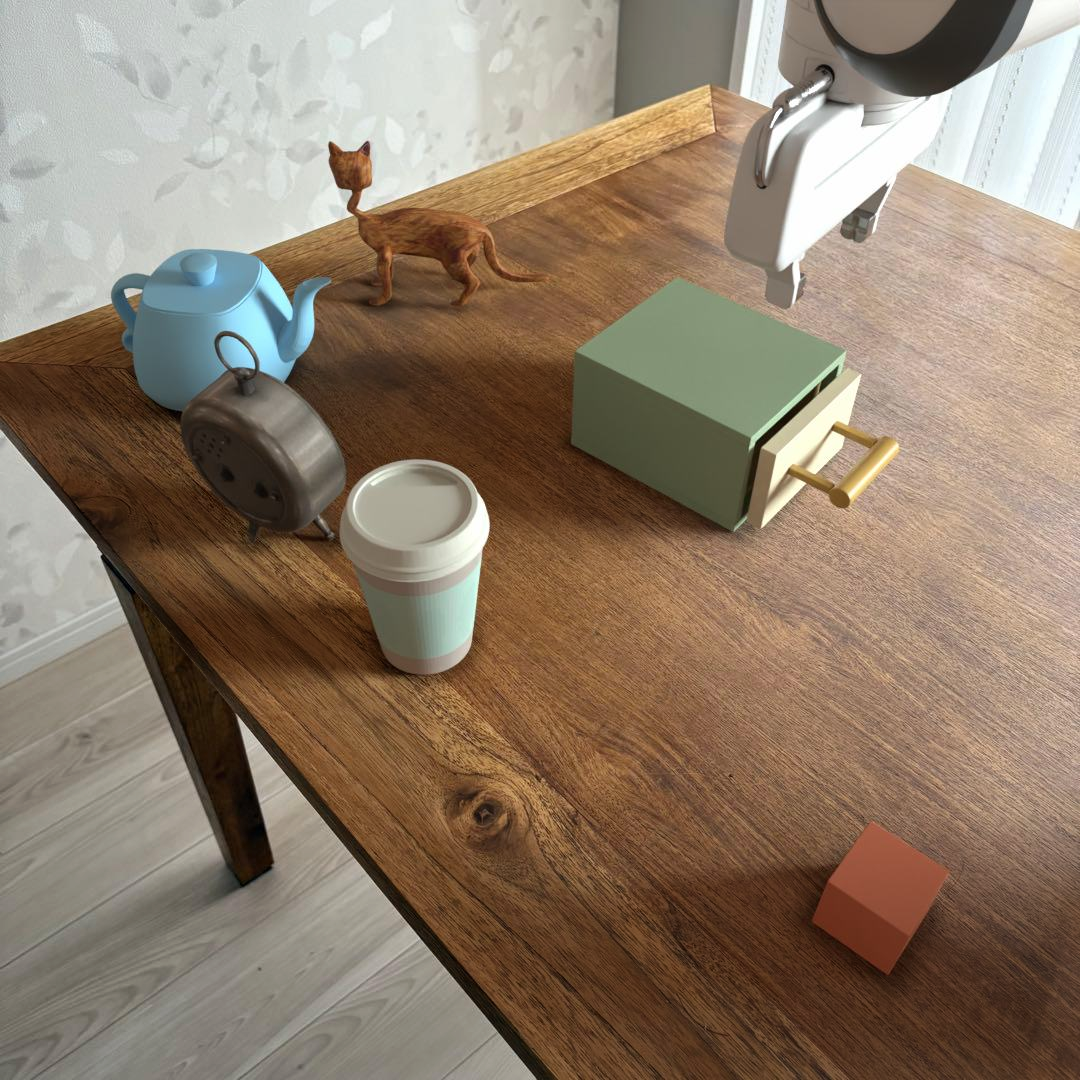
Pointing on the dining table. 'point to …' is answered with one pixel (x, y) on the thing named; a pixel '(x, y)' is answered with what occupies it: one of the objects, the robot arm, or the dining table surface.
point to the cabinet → (693, 394)
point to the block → (879, 896)
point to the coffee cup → (417, 559)
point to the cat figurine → (417, 232)
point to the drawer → (813, 451)
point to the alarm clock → (263, 449)
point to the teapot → (211, 321)
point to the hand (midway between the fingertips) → (821, 267)
